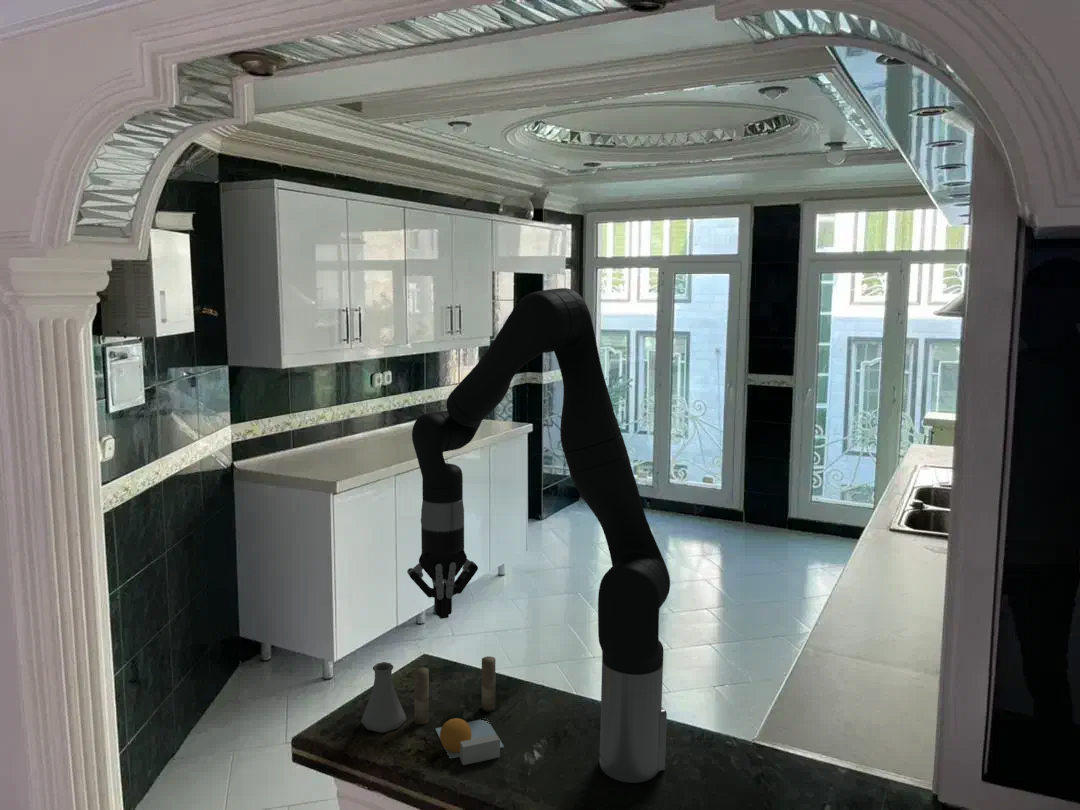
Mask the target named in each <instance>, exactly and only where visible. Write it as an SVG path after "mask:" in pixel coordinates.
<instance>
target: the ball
mask: <svg viewBox="0 0 1080 810" xmlns="http://www.w3.org/2000/svg"><path fill="white" fill-rule="evenodd" d="M467 722H468V721H466V720H465V719H462V718H460V717H459V718H457V717H455V718H451V719H448V720H447V721H446V722H444V724H443V725H442V729H441V732H440V738H439V740H440V744H441V745H442V747H443V749H445V748H446V749H447V750H448V751H451V752H460V742H461V741H466V740H471V736H472V733H471V728H470V726H469V725H468V723H467Z"/></svg>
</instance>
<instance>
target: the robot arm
mask: <svg viewBox="0 0 1080 810" xmlns="http://www.w3.org/2000/svg"><path fill="white" fill-rule="evenodd" d="M591 315H592V314H591V313H590V310H589V308H588V305H587V303H586V300H584V298H583V297H582V296H581V295H580V294H579V293H578V292H577V291H575V290H573V289H571V288H567V287H562V288H561V287H560V288H549V289H544V290H543V289H542V290H537V291H534V292H530V293H528V294H526V295H524V296H523V297H522V298H521V299H520V300H519V301H518V302H517V304H516V305H515V306H514V308H513V309H512V311H511V312H510V313H509V315H508V317H507V319H506V320H505V322H504V323H503V325H502V327H501V328H500V331H498V333H497V335H496V336H495V338H494V339H493V341H492V343H491V344H490V345H489V347H488V349H487V350H486V352H485V353H484V354H483V356H481V358H480V360H479V361H478V362H477V364H475V366H474V367H473V368H472V369H471V370H470V372H468V374H467V375H466V376H464V378H463V379H462V380H461V381H460V382H459V384H457V385H456V386H455V388H454V389H453V390H452V391H451V392H450V394H449V395H448V396H447V399H446V402H445V403H446V405H445V407H446V410H443V411H435V412H428V413H427V412H426V413H422V414H421V415H420V416H418V417H417V419H416V420H415V422H414V423H413V426H412V430H411V438H412V439H411V440H412V444H413V449H414V452H415V454H416V459H417V463H418V466H419V469H420V474H421V477H422V480H421V481H422V482H421V483H422V487H421V489H422V493H421V494H422V495H421V496H422V503H421V515H420V524H421V526H420V527H421V530H420V531H421V534H420V535H421V554H420V556H419V559H418V563H417V564H416V565H415V566H414V567H413V568H412V567H410V568H408V569H407V570H406V571H407V575H408V576H409V578H410V579H411V580H412V581H413V582H414V584H415V585H416V586H418V587H419V589H420V590H421V591H422V592H423V593H424V594H425V595H426V597H427V598H430V599H431V598H433V601H434V610H433V611H434V614H436V616H437V617H438V618H439V619H440V620H441V619H443V620H444V619H448V618H449V616H450V615H451V614H452V612H453V610H452V609H453V606H452V605H453V597H454V596H455V595H460V594H462V593H463V591H464V590H465V589H466V587H467V585H468V584H469V583H470V582H471V580H472V578H473V577H474V576H475V574H476V573H477V572H478V570H479V566H477V563H475V562H474V561H472V560H469V559H468V557H467V554H466V553H465V507H464V499H463V497H464V496H463V493H464V492H463V491H464V490H463V486H464V485H463V482H464V477H463V471H462V468H461V467H460V466H459V465H457V464H454V463H448V462H447V463H446V460H445V458H444V452H449V451H456V450H460V449H462V448H464V447H465V446H467V445H468V444H469V443H471V441H472V440H473V439H474V438H475V435H476V433H477V432H478V429H479V428H480V426H481V424H482V421H483V420H484V419H485V418H486V417H488V415H489V414H490V413H492V412H493V411H494V410H495V409H496V407H498V406H499V404H500V403H502V401H503V399H504V398H505V397H506V395H507V393H508V391H509V389H510V387H511V383H512V381H513V379H514V377H515V376H516V375H517V373H518V372H519V371H520V370H521V368H523V367H524V366H526V365H527V364H528V363H529V362H531V361H533V360H534V359H536V358H537V357H538V356H540V355H542V354H547V353H554V355H555V358H556V361H557V363H558V367H559V368H558V369H559V371H560V375H561V379H562V384H563V385H562V386H563V399H562V409H561V415H560V416H561V418H560V431H559V433H560V435H559V436H560V443H561V448H562V452H563V455H564V458H565V462H566V465H567V468H568V471H569V474H570V477H571V479H572V482H573V484H574V487H575V488H576V491H578V493H579V495H580V496H581V498H582V499H583V500H584V502H585V503H586V505H587V506H588V507H589V509H590V510H591V511H592V514H594V516H595V517H596V519H597V521H598V523H599V524H600V527H601V529H602V531H603V533H604V537H605V541H606V543H607V544H606V545H607V548H608V552H609V556H610V562H611V567H610V568H609V569H608V570H607V571H606V573H605V574H604V575H603V576H602V579H601V581H600V584H599V587H598V595H597V619H598V620H597V629H598V630H597V632H598V634H597V635H598V643H599V646H600V648H601V686H600V687H601V692H600V693H601V694H600V695H601V696H600V697H601V699H600V729H599V730H600V732H599V733H600V734H599V735H600V737H599V752H598V753H599V767H600V769H601V772H603V773H604V774H605V776H608V777H610V778H612V779H614V780H616V781H619V782H622V783H628V784H629V783H633V784H637V783H643V782H647V781H649V780H651V779H653V778H655V776H657V774H658V773H659V772H661V771H664V770H665V769H666V768H665V767H666V750H667V749H666V746H667V717H668V716H667V715H668V713H667V710H666V709H665V708H663V707H662V706H663V704H662V701H663V679H664V678H663V677H664V676H663V675H664V646H663V643H662V642H661V641H660V639H659V638H660V637H659V635H660V634H659V633H660V631H659V630H660V629H659V627H660V626H659V625H660V609H661V607H662V606H663V604H664V603H665V602H666V600H667V598H668V596H669V593H670V589H671V577H670V574H669V573H670V572H669V570H668V567H667V565H666V564H667V563H666V562H665V560H664V557H663V555H662V553H661V550H660V548H659V546H658V543H657V541H656V539H655V536H654V534H653V532H652V530H651V527H650V524H649V522H648V519H647V516H646V514H645V510H644V506H643V502H642V498H641V495H640V491H639V488H638V484H637V482H636V478H635V475H634V472H633V468H632V464H631V460H630V456H629V454H628V450H627V449H628V448H627V447H626V443H625V440H624V436H623V434H622V431H621V427H620V425H619V423H618V420H617V416H616V414H615V410H614V407H613V403H612V400H611V396H610V392H609V389H608V386H607V383H606V379H605V376H604V371H603V368H602V367H603V366H602V364H601V359H600V354H599V348H598V345H597V339H596V334H595V329H594V328H595V327H594V324H593V320H592V316H591ZM461 569H462V571H461ZM423 571H425V573H426V574H427V576H428V577H429V578H430V579H431V582H432V587H430V586H429V585H428V584H427V583H426V581H425V580H424V579H423V577H424V573H423ZM460 571H461V572H460ZM459 572H460V574H459ZM458 574H459V575H458ZM457 575H458V577H457ZM456 577H457V578H456ZM455 579H456V580H455Z"/></svg>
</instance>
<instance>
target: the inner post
mask: <svg viewBox="0 0 1080 810" xmlns="http://www.w3.org/2000/svg"><path fill="white" fill-rule="evenodd" d="M482 708H483V709H485V710H491V709H494V708H495V709H496V657H494V656H484V657H481V709H482ZM495 709H494V710H495Z"/></svg>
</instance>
